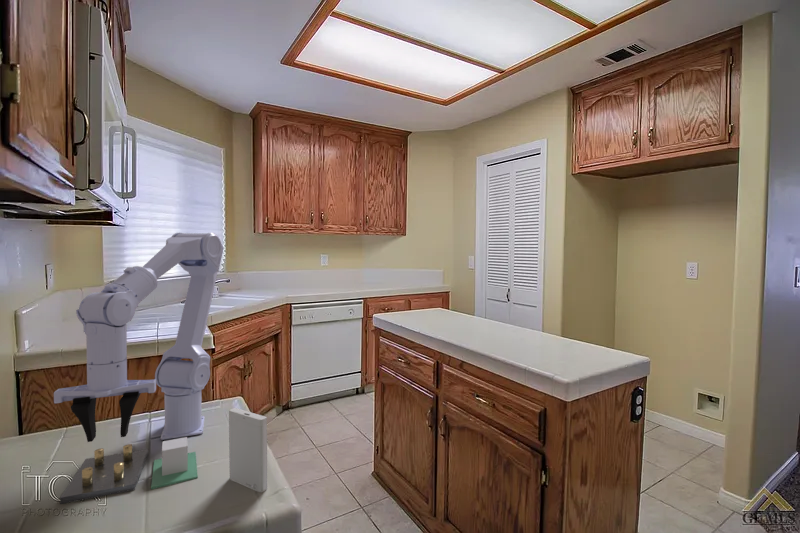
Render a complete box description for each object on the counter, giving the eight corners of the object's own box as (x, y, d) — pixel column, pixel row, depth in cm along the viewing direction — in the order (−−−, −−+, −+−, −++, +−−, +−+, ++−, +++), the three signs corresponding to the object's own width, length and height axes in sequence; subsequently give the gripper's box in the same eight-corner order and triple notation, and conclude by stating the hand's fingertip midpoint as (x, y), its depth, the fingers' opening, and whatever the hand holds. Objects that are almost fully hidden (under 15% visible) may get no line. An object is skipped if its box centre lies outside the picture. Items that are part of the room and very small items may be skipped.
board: (154, 464, 77) (153, 436, 77) (195, 455, 80) (195, 429, 80) (151, 491, 68) (150, 460, 68) (197, 480, 72) (197, 451, 71)
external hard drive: (260, 494, 67) (260, 420, 67) (228, 480, 71) (227, 410, 71) (268, 489, 69) (268, 416, 68) (236, 475, 73) (235, 407, 72)
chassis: (85, 464, 76) (85, 445, 76) (148, 454, 80) (147, 436, 80) (60, 503, 64) (59, 482, 64) (134, 489, 68) (134, 469, 68)
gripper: (45, 371, 65) (47, 455, 65) (151, 362, 70) (152, 439, 71) (62, 360, 71) (63, 436, 72) (157, 353, 77) (158, 423, 77)
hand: (108, 437), depth 72 cm, fingers open, 4 cm apart
